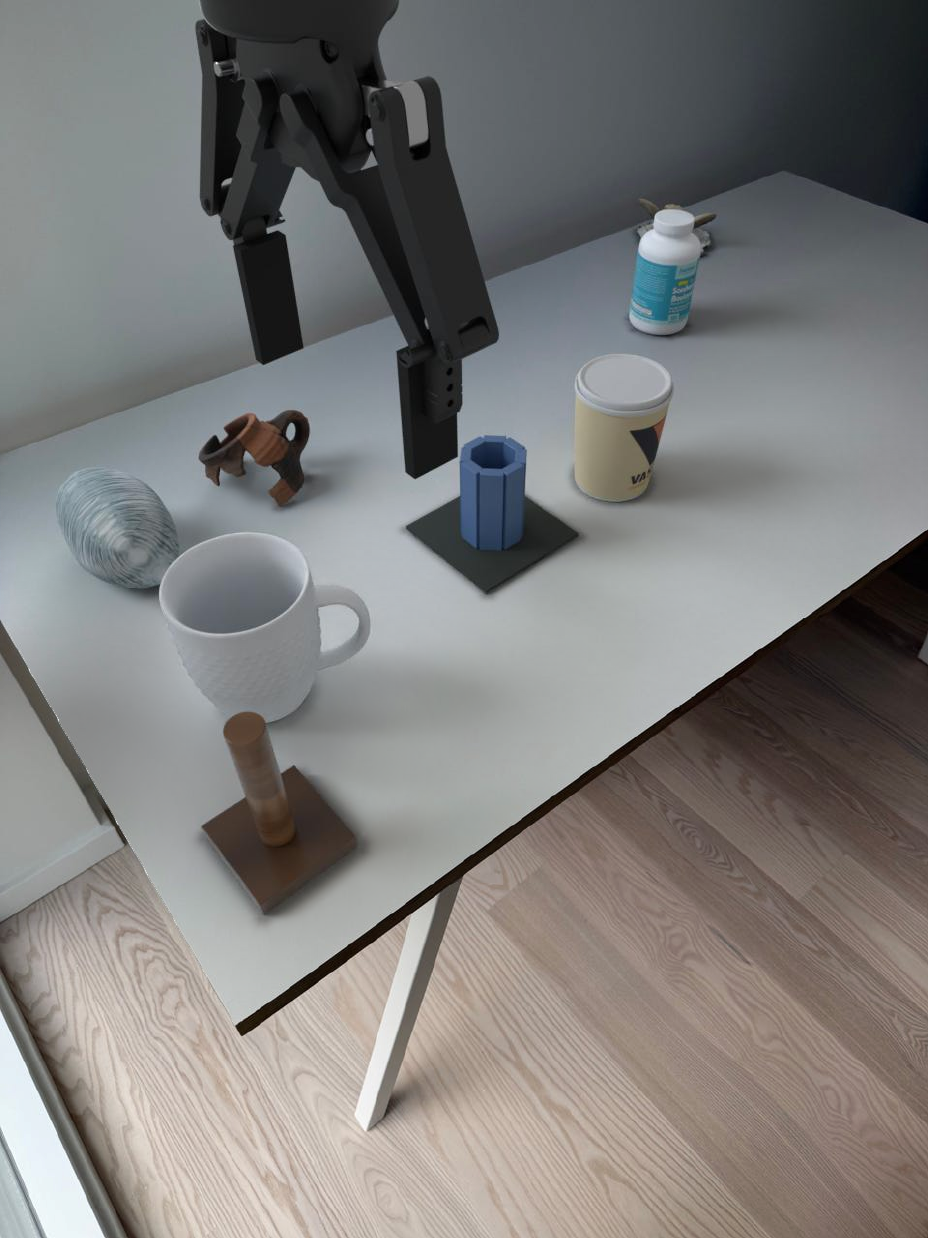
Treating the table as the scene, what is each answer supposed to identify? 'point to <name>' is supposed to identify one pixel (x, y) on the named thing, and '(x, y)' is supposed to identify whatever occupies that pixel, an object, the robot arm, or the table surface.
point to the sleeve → (492, 492)
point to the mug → (253, 622)
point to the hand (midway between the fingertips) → (350, 405)
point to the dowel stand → (273, 821)
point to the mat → (490, 565)
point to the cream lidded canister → (619, 424)
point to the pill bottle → (665, 274)
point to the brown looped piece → (261, 450)
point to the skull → (699, 220)
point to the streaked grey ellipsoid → (117, 527)
